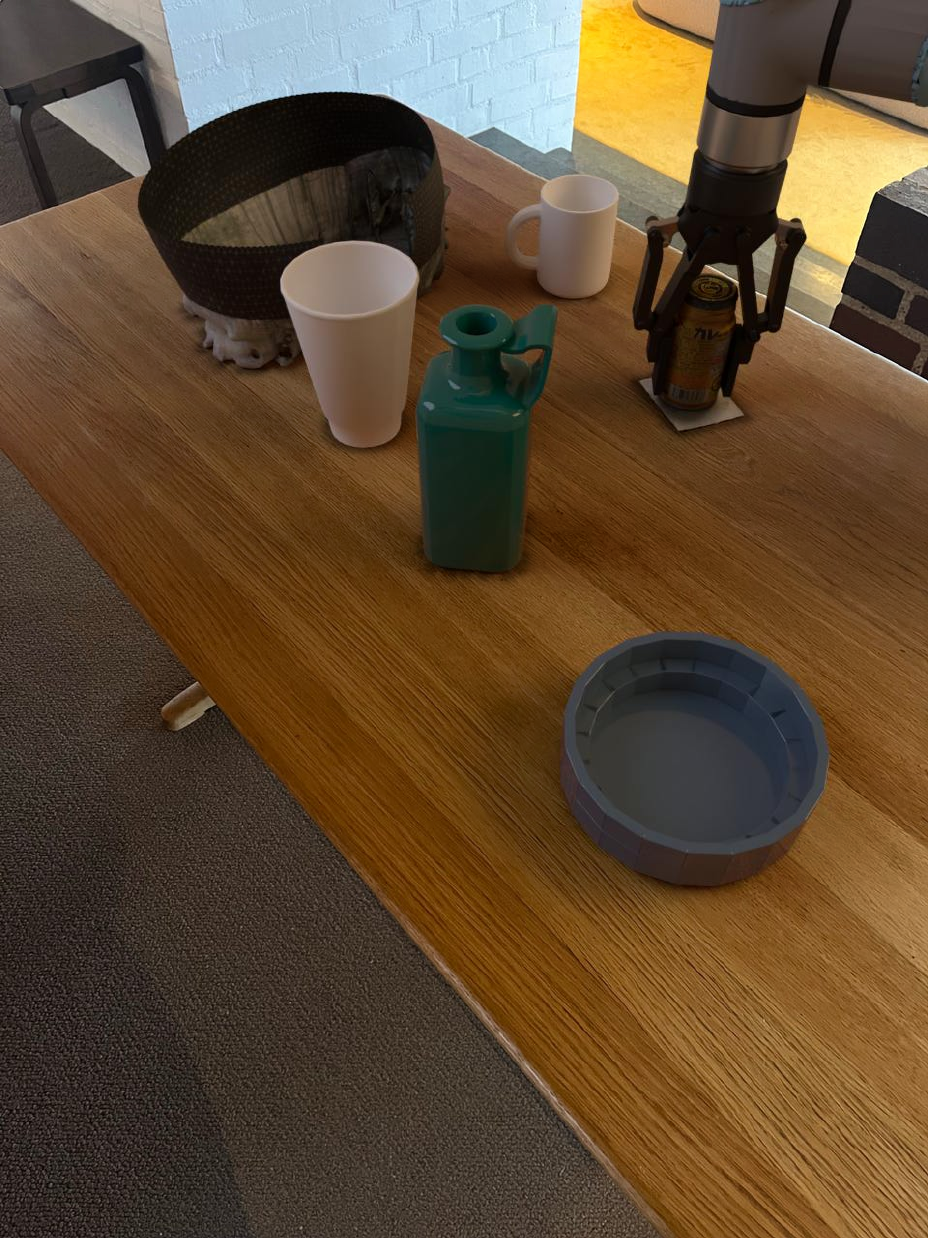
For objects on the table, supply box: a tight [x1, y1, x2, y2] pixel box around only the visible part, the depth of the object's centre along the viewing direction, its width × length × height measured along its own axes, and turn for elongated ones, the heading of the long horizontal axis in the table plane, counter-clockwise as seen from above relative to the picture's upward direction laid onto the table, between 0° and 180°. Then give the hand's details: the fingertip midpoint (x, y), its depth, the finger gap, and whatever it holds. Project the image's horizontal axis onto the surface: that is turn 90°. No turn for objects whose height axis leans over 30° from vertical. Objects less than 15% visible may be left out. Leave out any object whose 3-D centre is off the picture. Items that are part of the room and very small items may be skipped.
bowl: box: [558, 630, 831, 887], centre depth 67 cm, size 18×18×6 cm
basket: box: [137, 91, 452, 369], centre depth 102 cm, size 28×35×16 cm
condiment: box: [638, 272, 745, 432], centre depth 91 cm, size 7×8×12 cm
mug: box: [504, 173, 620, 300], centre depth 106 cm, size 12×8×10 cm
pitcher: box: [414, 303, 559, 574], centre depth 75 cm, size 10×8×22 cm
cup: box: [280, 241, 420, 449], centre depth 88 cm, size 12×12×16 cm
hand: (690, 387), depth 95 cm, fingers closed on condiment, 6 cm apart
